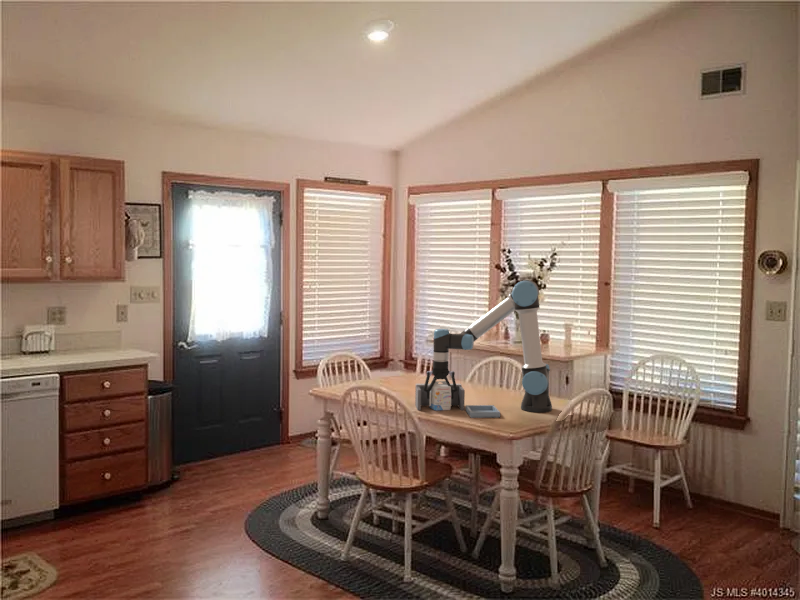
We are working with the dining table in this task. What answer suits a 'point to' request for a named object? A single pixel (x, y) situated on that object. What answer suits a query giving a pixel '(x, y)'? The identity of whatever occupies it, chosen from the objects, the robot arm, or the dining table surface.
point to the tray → (482, 411)
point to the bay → (423, 401)
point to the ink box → (440, 396)
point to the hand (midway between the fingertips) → (440, 405)
